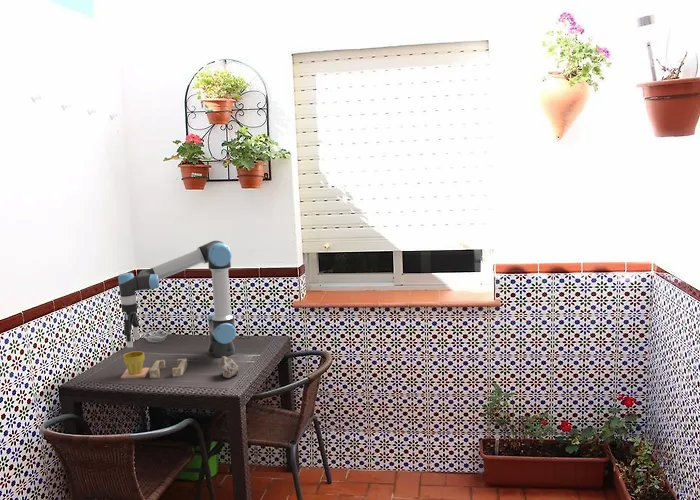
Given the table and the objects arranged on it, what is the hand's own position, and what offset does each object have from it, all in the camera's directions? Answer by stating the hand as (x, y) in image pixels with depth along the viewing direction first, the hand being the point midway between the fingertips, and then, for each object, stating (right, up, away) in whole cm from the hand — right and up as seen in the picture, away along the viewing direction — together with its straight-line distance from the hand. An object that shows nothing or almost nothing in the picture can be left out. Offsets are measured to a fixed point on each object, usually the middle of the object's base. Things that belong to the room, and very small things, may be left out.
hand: (133, 343), depth 340 cm
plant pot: (+1, -16, +2) cm, 16 cm away
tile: (+1, -16, +3) cm, 17 cm away
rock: (+50, -16, -7) cm, 53 cm away
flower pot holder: (+17, -15, +4) cm, 23 cm away
